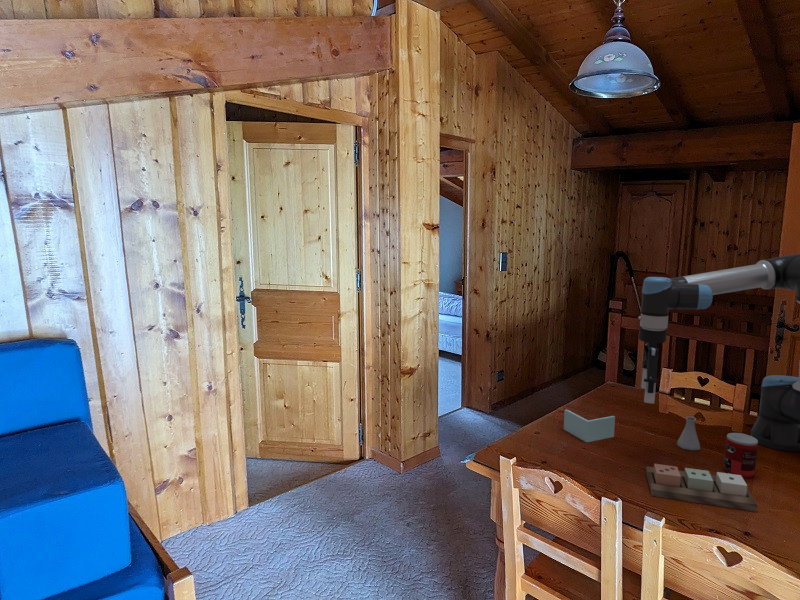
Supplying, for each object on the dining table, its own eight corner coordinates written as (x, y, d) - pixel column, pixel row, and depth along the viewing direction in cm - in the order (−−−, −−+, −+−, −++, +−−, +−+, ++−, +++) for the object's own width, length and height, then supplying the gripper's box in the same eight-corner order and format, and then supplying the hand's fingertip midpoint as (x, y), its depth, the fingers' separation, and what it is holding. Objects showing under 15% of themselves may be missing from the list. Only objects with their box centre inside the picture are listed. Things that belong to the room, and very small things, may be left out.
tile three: (676, 477, 151) (677, 466, 150) (679, 487, 145) (680, 476, 145) (653, 473, 153) (654, 463, 152) (656, 483, 147) (656, 472, 147)
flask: (704, 452, 171) (706, 423, 169) (680, 450, 172) (682, 421, 170) (696, 442, 178) (699, 415, 176) (673, 441, 179) (675, 413, 177)
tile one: (739, 485, 146) (741, 474, 145) (746, 496, 140) (747, 485, 140) (715, 482, 148) (716, 471, 147) (720, 493, 142) (721, 481, 142)
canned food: (725, 463, 163) (728, 430, 161) (756, 471, 158) (759, 437, 156) (721, 472, 157) (724, 438, 155) (753, 481, 152) (756, 445, 150)
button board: (741, 485, 149) (742, 479, 149) (756, 511, 136) (757, 504, 136) (645, 472, 157) (646, 466, 157) (651, 495, 144) (652, 489, 144)
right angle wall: (613, 436, 183) (615, 416, 182) (586, 442, 178) (587, 421, 177) (589, 424, 194) (591, 405, 193) (563, 429, 190) (564, 409, 188)
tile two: (707, 481, 148) (708, 470, 148) (712, 491, 143) (713, 480, 142) (683, 478, 150) (684, 467, 150) (687, 488, 145) (688, 477, 144)
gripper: (637, 319, 170) (632, 382, 173) (642, 335, 147) (636, 407, 150) (662, 321, 167) (657, 384, 171) (671, 338, 144) (665, 410, 148)
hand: (647, 395), depth 160 cm, fingers open, 13 cm apart
